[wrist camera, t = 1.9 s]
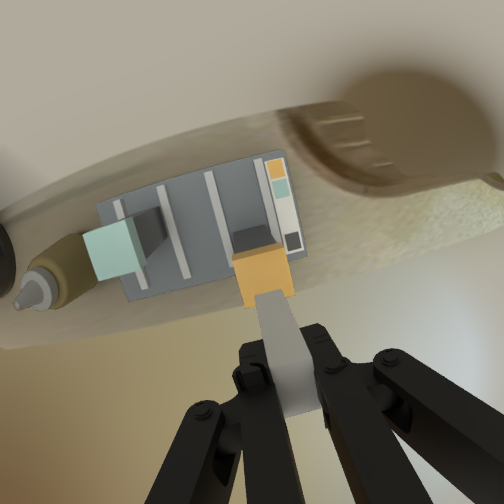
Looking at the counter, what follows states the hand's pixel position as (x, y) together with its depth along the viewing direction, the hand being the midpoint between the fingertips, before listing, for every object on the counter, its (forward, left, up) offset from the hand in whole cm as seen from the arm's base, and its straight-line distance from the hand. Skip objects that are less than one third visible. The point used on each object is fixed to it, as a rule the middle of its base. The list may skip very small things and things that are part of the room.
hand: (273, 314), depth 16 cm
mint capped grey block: (-12, -3, -22) cm, 25 cm away
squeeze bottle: (-21, -12, -25) cm, 34 cm away
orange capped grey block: (+1, -1, -22) cm, 22 cm away
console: (-6, -2, -24) cm, 25 cm away
